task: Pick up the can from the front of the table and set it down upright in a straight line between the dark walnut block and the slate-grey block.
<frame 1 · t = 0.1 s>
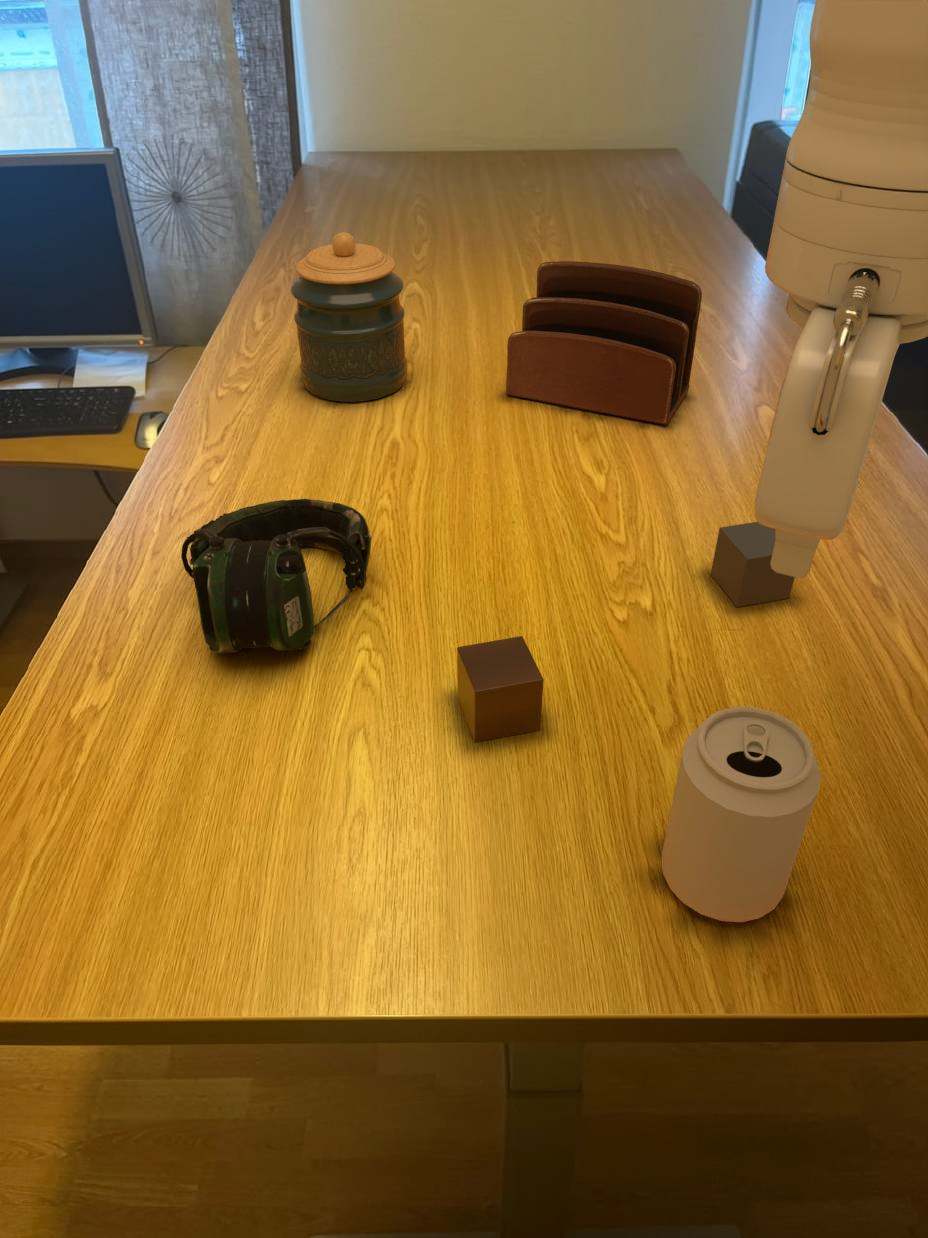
hand: (807, 519, 48), 23 cm above the table, tool pointing down, fingers open, 8 cm apart
can: (719, 880, 59), on the table
walnut block: (498, 713, 70), on the table
canister: (355, 382, 116), on the table
letter holder: (596, 396, 113), on the table
slate block: (749, 586, 83), on the table
headphones: (280, 605, 81), on the table
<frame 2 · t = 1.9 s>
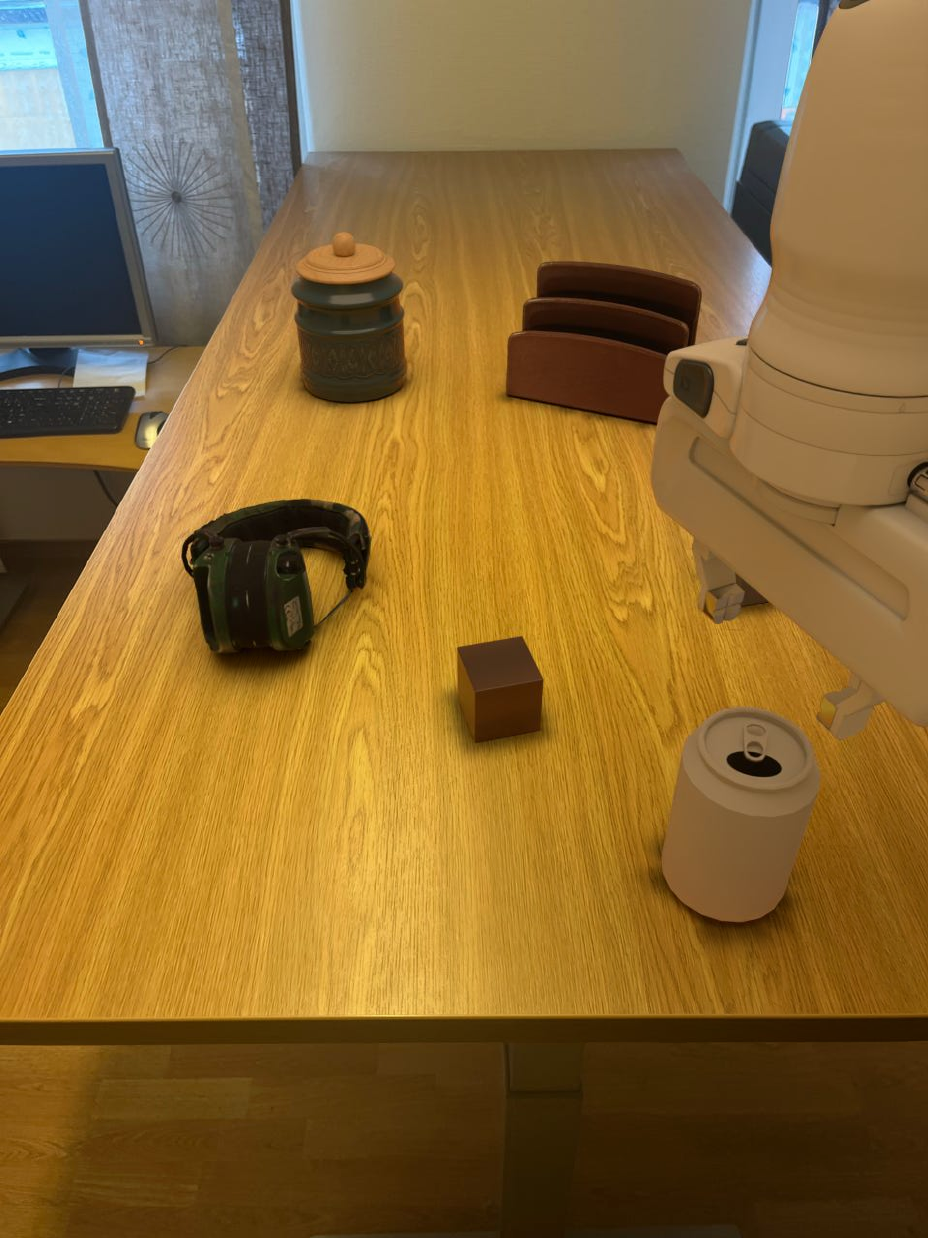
hand: (773, 666, 48), 17 cm above the table, tool pointing down, fingers open, 8 cm apart
nothing on the table moved.
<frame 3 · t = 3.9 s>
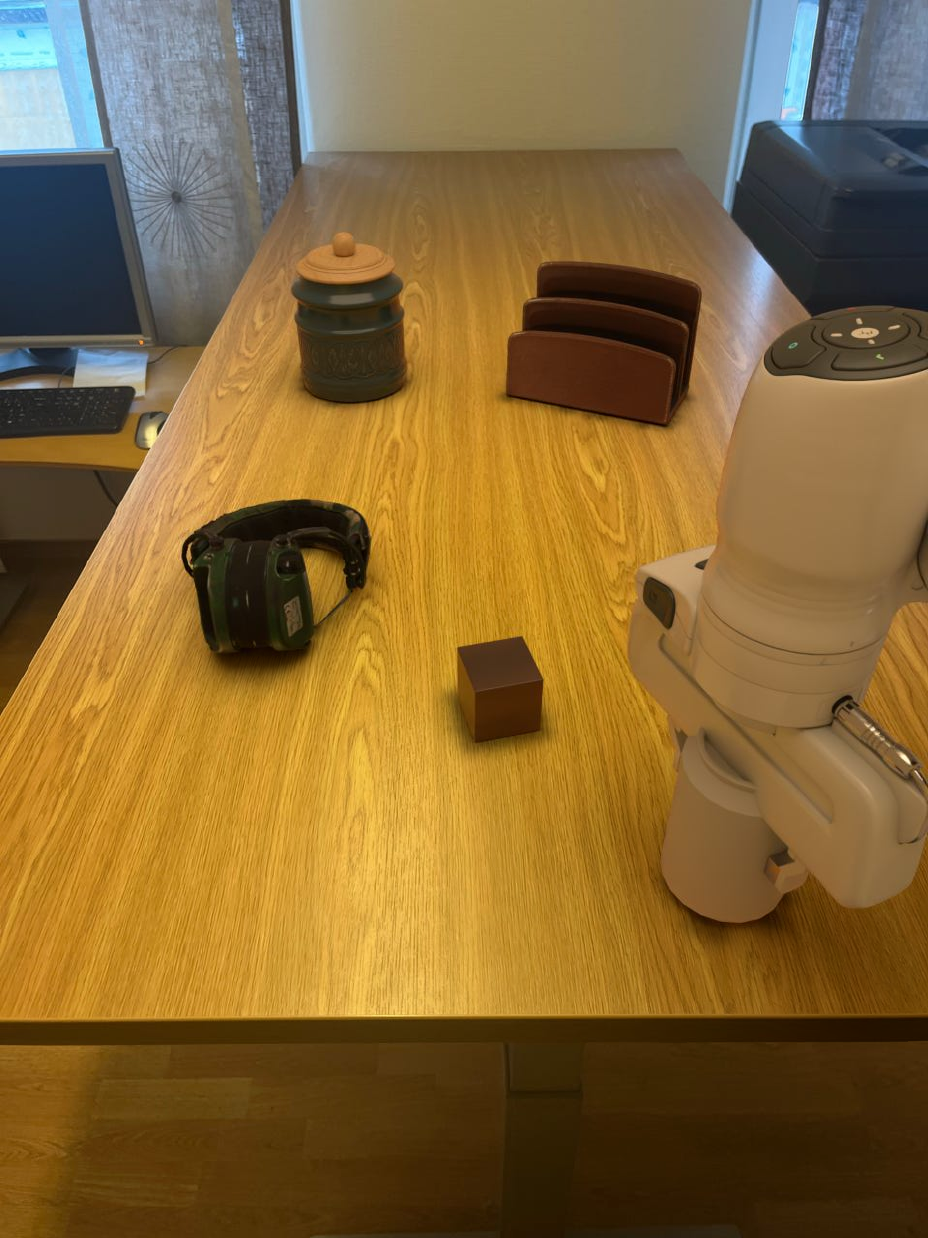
hand: (733, 823, 55), 5 cm above the table, tool pointing down, fingers closed on can, 7 cm apart
can: (719, 880, 59), on the table, touching gripper
everything else where it was.
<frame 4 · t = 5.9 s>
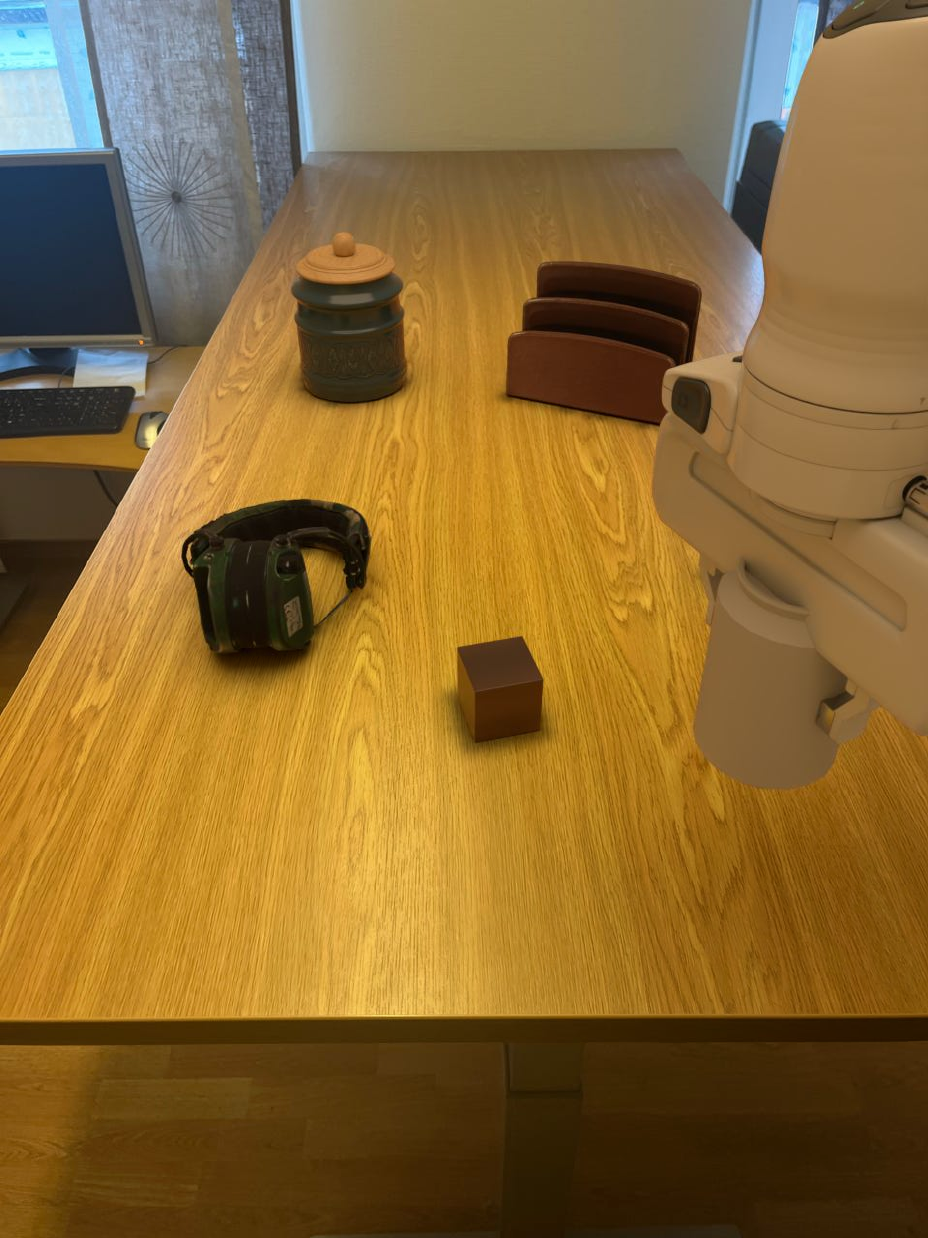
hand: (777, 676, 48), 17 cm above the table, tool pointing down, fingers closed on can, 7 cm apart
can: (760, 751, 52), point 11 cm above the table, touching gripper
everything else where it was.
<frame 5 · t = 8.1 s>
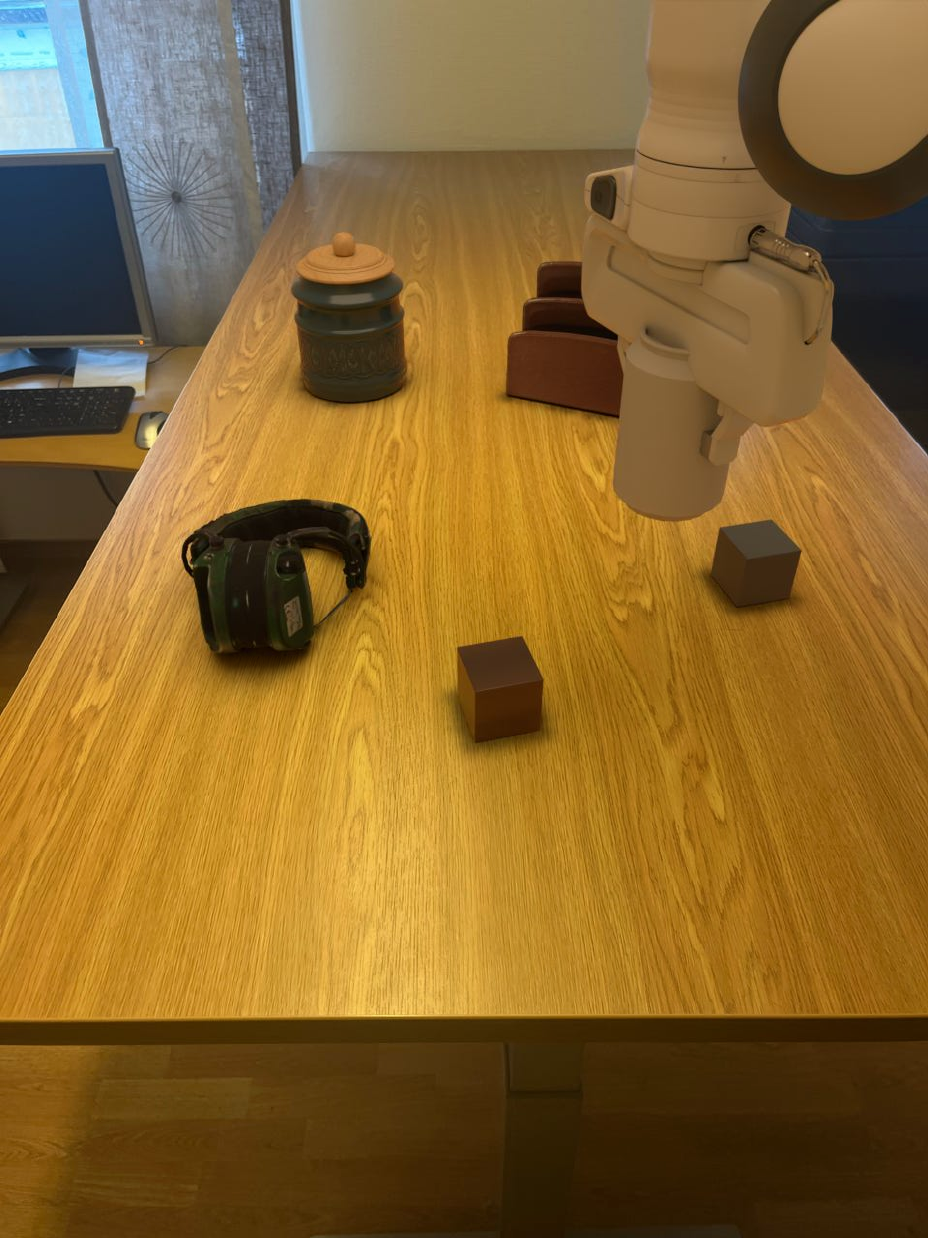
hand: (675, 429, 62), 20 cm above the table, tool pointing down, fingers closed on can, 7 cm apart
can: (665, 501, 65), point 15 cm above the table, touching gripper
everything else where it was.
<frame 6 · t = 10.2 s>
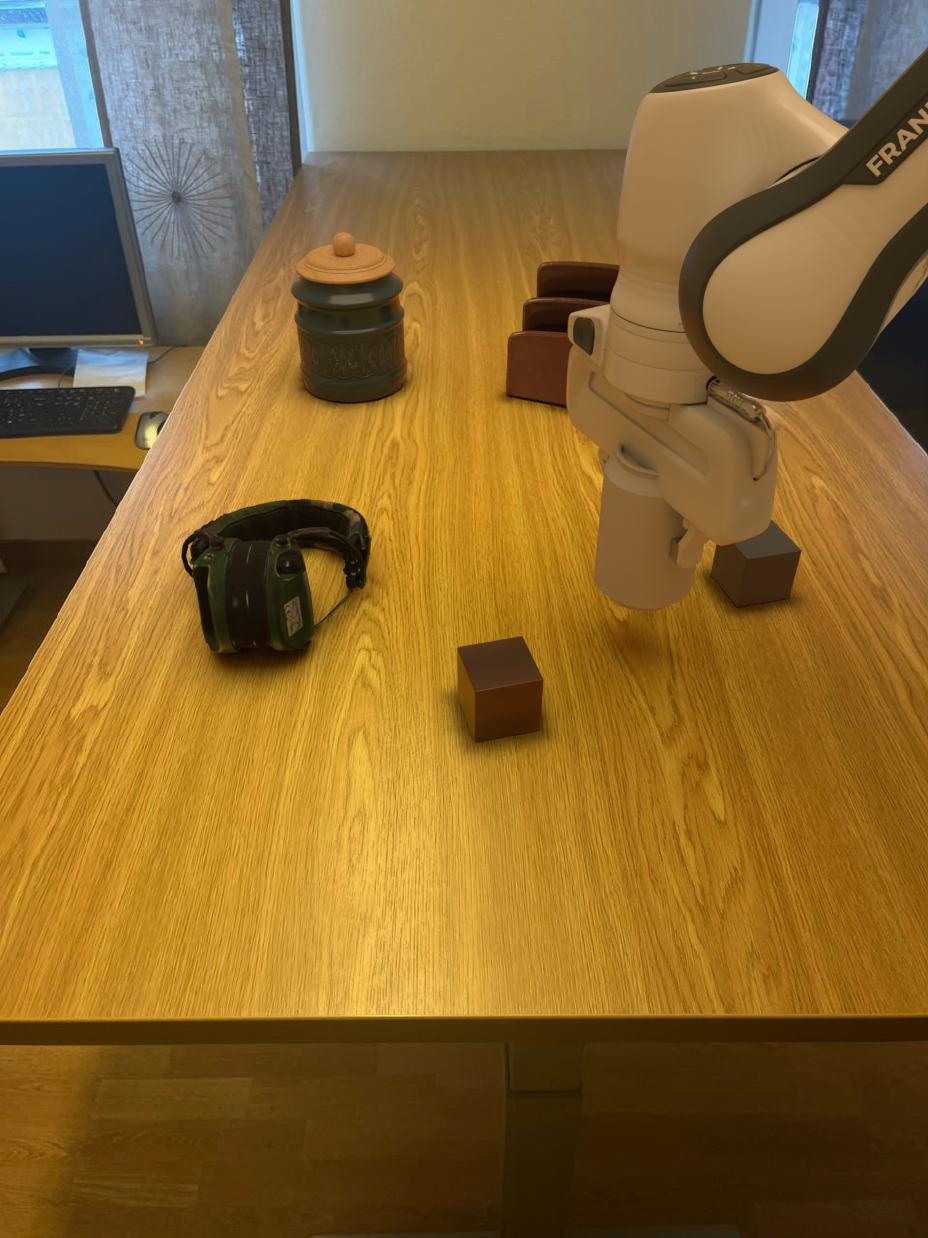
hand: (649, 530, 70), 11 cm above the table, tool pointing down, fingers closed on can, 7 cm apart
can: (641, 590, 73), point 5 cm above the table, touching gripper
everything else where it was.
when the fingers open (5 cm above the table, at t = 12.3 s): can stays where it is, on the table.
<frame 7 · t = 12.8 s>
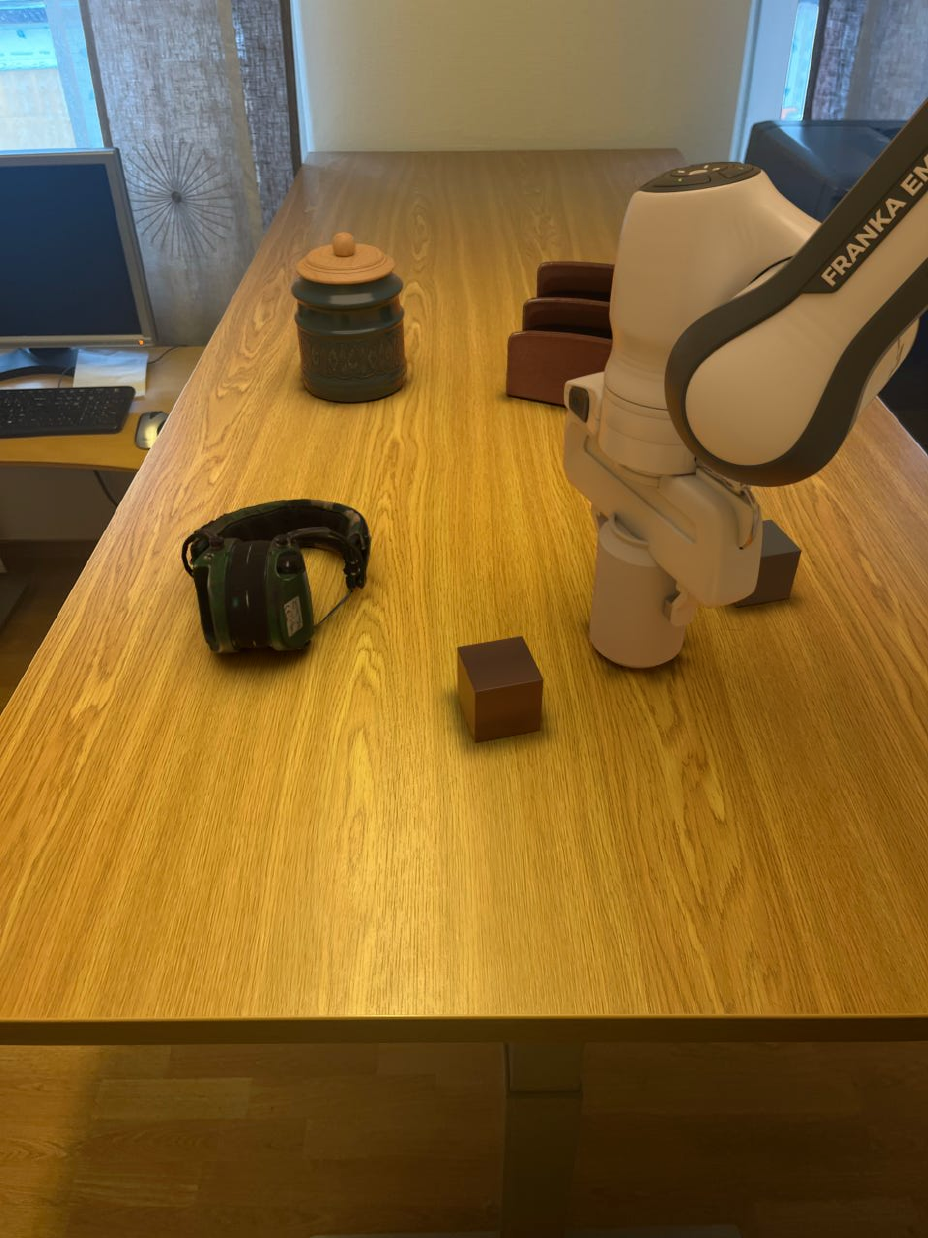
hand: (642, 585, 73), 6 cm above the table, tool pointing down, fingers open, 8 cm apart
can: (634, 646, 77), on the table
everything else where it was.
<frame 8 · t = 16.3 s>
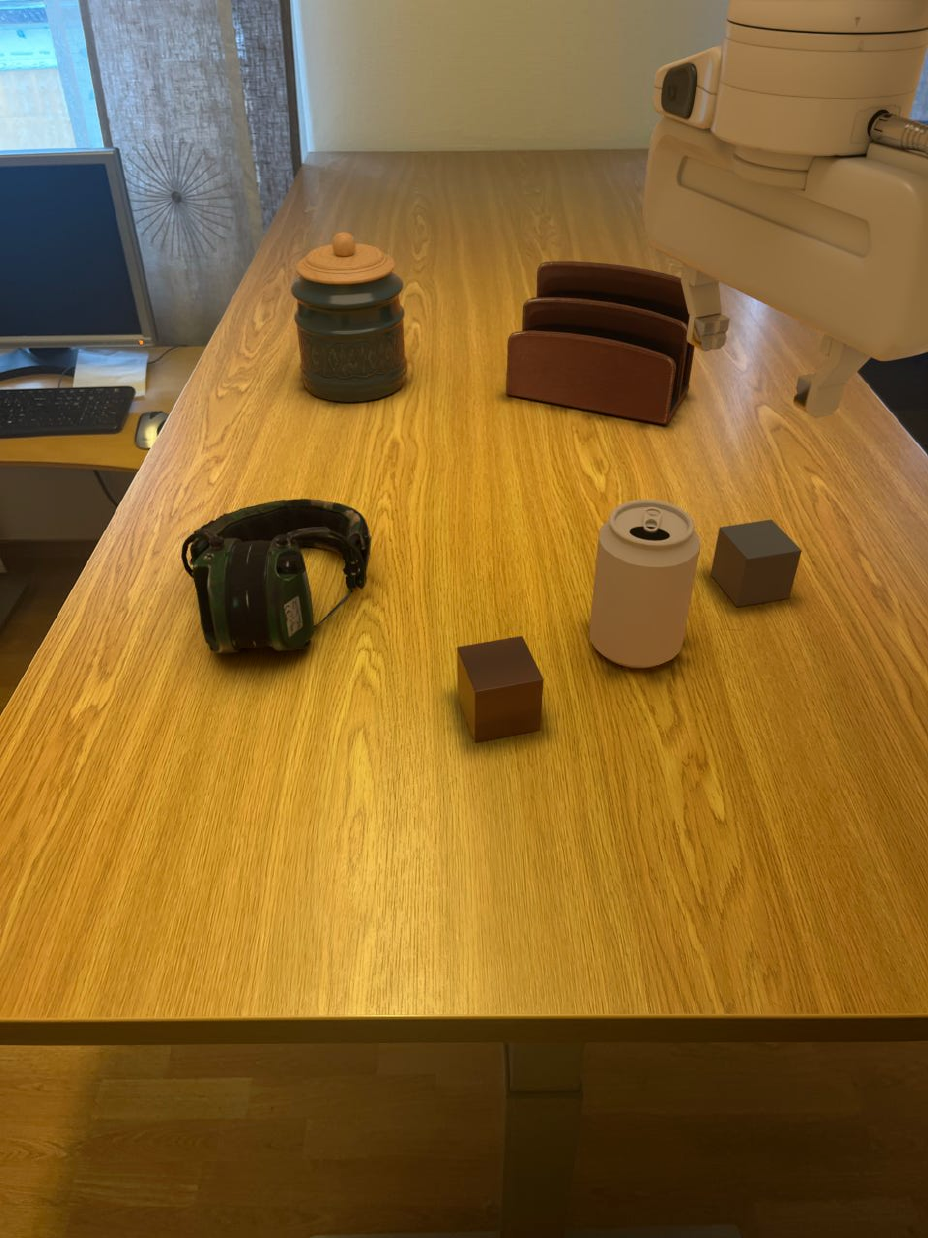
hand: (756, 376, 52), 27 cm above the table, tool pointing down, fingers open, 8 cm apart
nothing on the table moved.
at the end: can 0.1 cm from the target spot, on the table; can tilted 0°; slate block moved 0.0 cm from its start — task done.
